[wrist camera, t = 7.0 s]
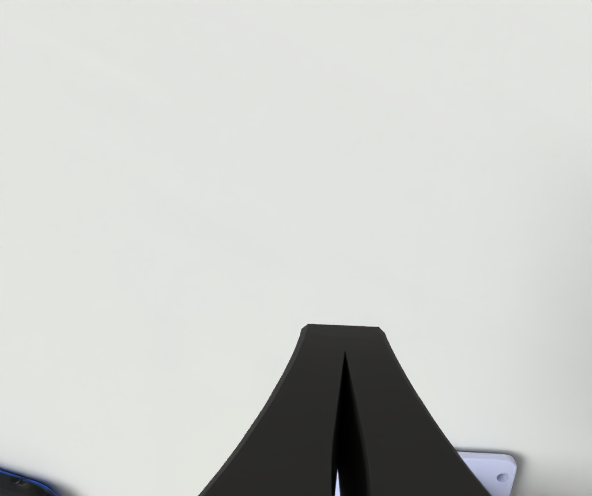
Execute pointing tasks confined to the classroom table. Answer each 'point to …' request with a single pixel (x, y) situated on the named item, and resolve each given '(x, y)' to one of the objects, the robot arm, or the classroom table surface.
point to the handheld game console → (21, 486)
